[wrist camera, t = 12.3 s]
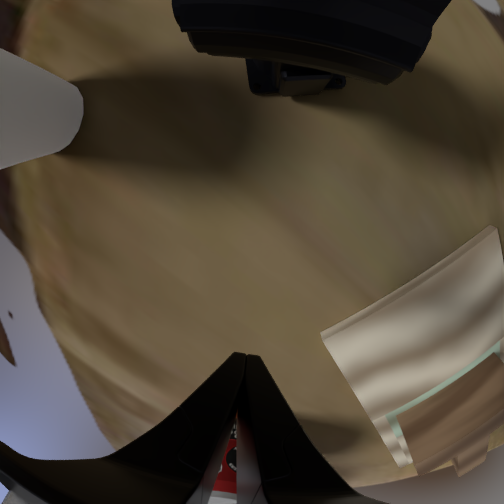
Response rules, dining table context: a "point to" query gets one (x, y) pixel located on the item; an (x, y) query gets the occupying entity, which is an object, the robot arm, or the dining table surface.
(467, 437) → the t block
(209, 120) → the dining table surface
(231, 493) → the canned food
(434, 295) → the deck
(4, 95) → the foam cup
